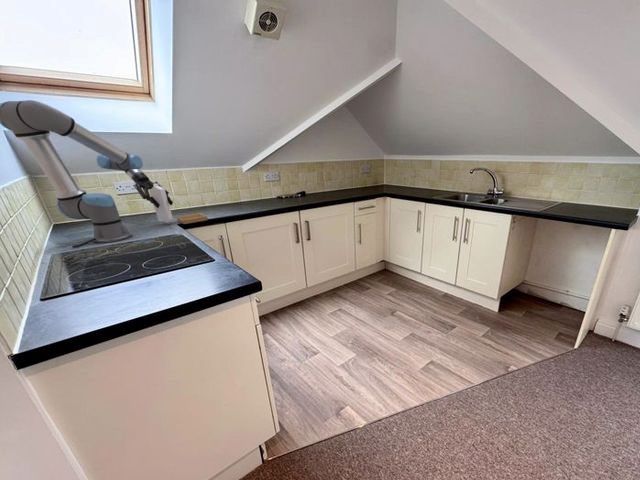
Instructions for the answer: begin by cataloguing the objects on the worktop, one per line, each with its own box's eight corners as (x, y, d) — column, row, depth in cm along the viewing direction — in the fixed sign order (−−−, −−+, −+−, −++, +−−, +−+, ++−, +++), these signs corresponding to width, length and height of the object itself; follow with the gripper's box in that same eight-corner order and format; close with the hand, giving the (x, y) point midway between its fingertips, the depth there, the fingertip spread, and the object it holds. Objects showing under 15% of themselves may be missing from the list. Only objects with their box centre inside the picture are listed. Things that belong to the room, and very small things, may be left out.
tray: (184, 224, 186) (182, 220, 185) (177, 221, 194) (176, 217, 193) (207, 220, 195) (206, 216, 194) (200, 217, 204) (199, 213, 203)
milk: (158, 221, 183) (147, 184, 174) (162, 219, 188) (151, 183, 179) (169, 221, 184) (158, 184, 175) (173, 219, 189) (162, 182, 180)
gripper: (153, 179, 190) (178, 206, 192) (118, 183, 173) (146, 212, 174) (156, 170, 187) (182, 198, 188) (121, 173, 169) (150, 203, 170)
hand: (165, 205), depth 181 cm, fingers closed on milk, 8 cm apart
